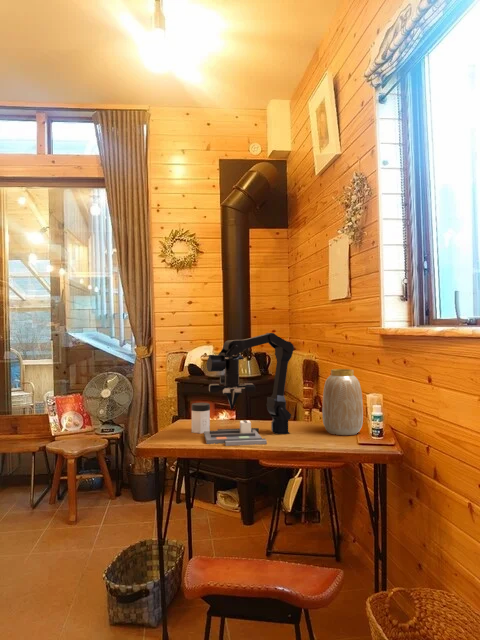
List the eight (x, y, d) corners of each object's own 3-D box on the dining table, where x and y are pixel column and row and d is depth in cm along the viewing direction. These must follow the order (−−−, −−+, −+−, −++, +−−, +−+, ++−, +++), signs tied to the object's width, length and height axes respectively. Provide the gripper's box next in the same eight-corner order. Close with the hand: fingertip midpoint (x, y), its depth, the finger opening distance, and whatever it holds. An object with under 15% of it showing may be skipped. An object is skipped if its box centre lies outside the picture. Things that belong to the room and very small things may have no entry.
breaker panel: (255, 432, 194) (255, 427, 194) (262, 441, 179) (262, 435, 179) (204, 434, 191) (204, 428, 191) (206, 444, 175) (206, 437, 175)
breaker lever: (249, 432, 188) (249, 419, 188) (251, 434, 184) (251, 422, 184) (239, 432, 188) (239, 420, 188) (241, 435, 183) (241, 422, 183)
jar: (196, 434, 192) (196, 406, 192) (187, 430, 199) (187, 403, 199) (214, 431, 197) (214, 404, 197) (205, 428, 204) (205, 401, 204)
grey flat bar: (264, 442, 178) (264, 438, 178) (266, 444, 175) (266, 440, 175) (224, 443, 176) (224, 440, 176) (225, 445, 173) (225, 441, 173)
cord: (258, 431, 198) (258, 428, 198) (258, 431, 196) (258, 428, 196) (217, 432, 195) (217, 429, 195) (217, 433, 194) (217, 430, 194)
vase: (366, 429, 200) (365, 369, 201) (359, 438, 184) (358, 372, 185) (327, 426, 207) (327, 367, 208) (318, 434, 192) (317, 370, 192)
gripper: (251, 368, 195) (251, 405, 194) (207, 369, 192) (207, 406, 192) (255, 371, 184) (255, 409, 183) (209, 371, 181) (209, 410, 181)
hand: (232, 408), depth 185 cm, fingers closed
